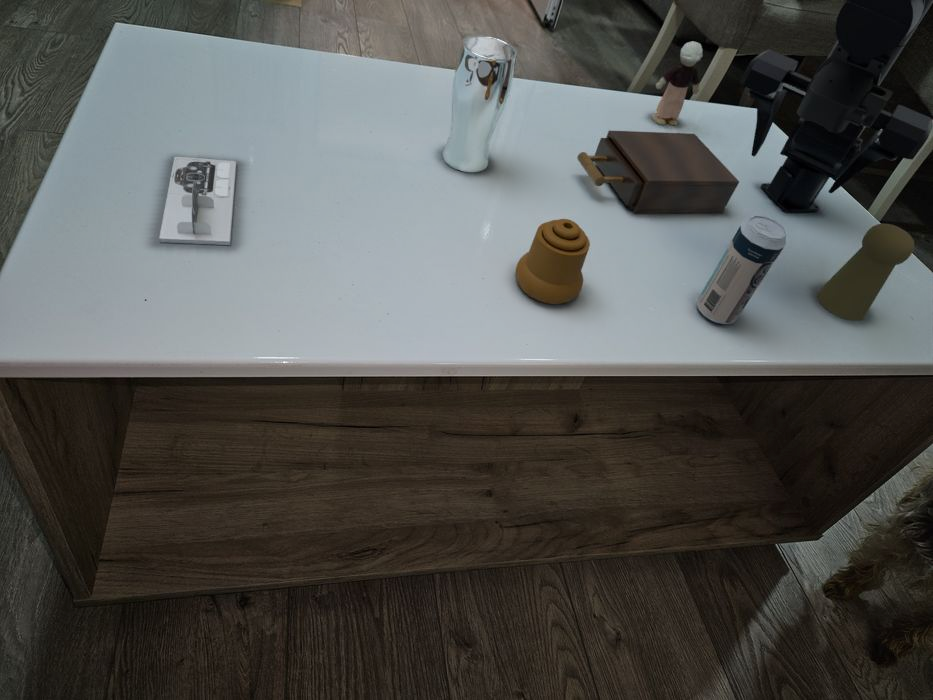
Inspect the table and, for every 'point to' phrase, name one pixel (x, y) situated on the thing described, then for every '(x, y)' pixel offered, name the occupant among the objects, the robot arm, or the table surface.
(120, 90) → the table surface
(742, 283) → the beer can
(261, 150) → the table surface
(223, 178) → the white flat box
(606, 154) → the drawer
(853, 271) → the game pawn
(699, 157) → the cabinet
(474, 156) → the beer glass
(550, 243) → the ornamental finial
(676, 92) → the grandmother figurine
